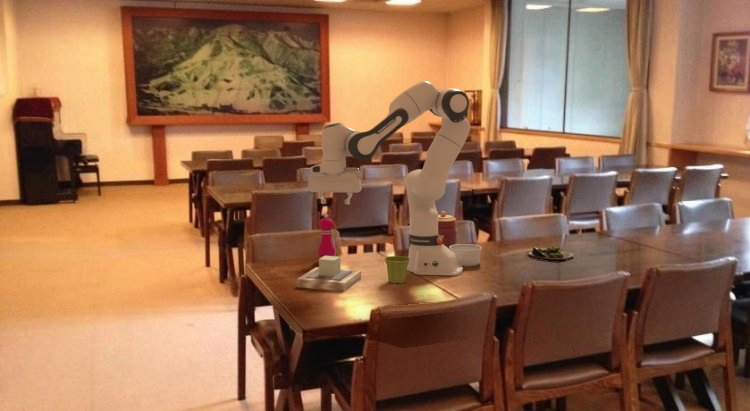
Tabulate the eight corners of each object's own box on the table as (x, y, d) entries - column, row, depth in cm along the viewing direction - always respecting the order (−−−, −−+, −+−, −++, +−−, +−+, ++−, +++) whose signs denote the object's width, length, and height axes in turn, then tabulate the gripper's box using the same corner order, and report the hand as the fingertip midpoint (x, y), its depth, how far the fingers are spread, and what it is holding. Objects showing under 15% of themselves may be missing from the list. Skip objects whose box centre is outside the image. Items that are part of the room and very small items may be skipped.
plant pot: (394, 277, 256) (394, 254, 254) (414, 281, 250) (415, 258, 248) (379, 282, 248) (379, 259, 247) (399, 286, 243) (399, 262, 241)
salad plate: (545, 250, 304) (546, 240, 303) (581, 256, 291) (582, 246, 290) (520, 257, 290) (521, 246, 290) (557, 264, 278) (557, 253, 277)
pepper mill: (336, 260, 283) (336, 213, 280) (334, 264, 276) (333, 215, 273) (319, 259, 283) (319, 212, 280) (316, 263, 276) (315, 215, 273)
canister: (422, 248, 305) (423, 210, 303) (447, 246, 311) (448, 208, 308) (437, 254, 294) (438, 214, 291) (462, 251, 299) (463, 212, 297)
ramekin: (444, 265, 275) (444, 248, 274) (456, 258, 286) (456, 242, 285) (475, 268, 269) (475, 251, 268) (485, 262, 280) (486, 245, 279)
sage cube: (340, 272, 249) (340, 256, 248) (334, 276, 243) (334, 260, 242) (325, 271, 251) (325, 255, 250) (319, 275, 245) (318, 259, 244)
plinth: (361, 278, 253) (360, 270, 253) (344, 291, 236) (344, 282, 236) (316, 274, 259) (316, 266, 258) (297, 287, 242) (297, 278, 241)
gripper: (363, 166, 251) (364, 203, 253) (312, 166, 257) (313, 202, 259) (358, 168, 245) (359, 206, 247) (305, 168, 251) (307, 204, 253)
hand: (335, 204), depth 253 cm, fingers open, 8 cm apart
